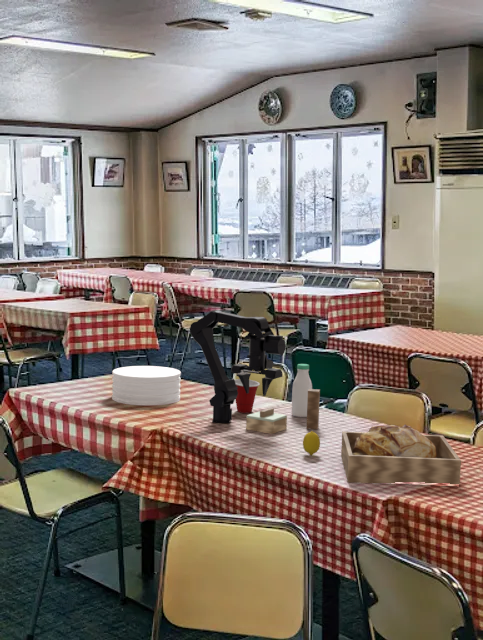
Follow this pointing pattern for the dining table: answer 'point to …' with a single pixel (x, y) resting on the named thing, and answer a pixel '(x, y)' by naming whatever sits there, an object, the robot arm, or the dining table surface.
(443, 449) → the bread crate
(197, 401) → the dining table surface
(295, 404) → the milk bottle
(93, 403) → the dining table surface
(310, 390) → the tan rectangular bar
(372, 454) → the bread
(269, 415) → the lid
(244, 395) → the plastic cup
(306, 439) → the lemon
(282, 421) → the open wooden box
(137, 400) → the plate stack
